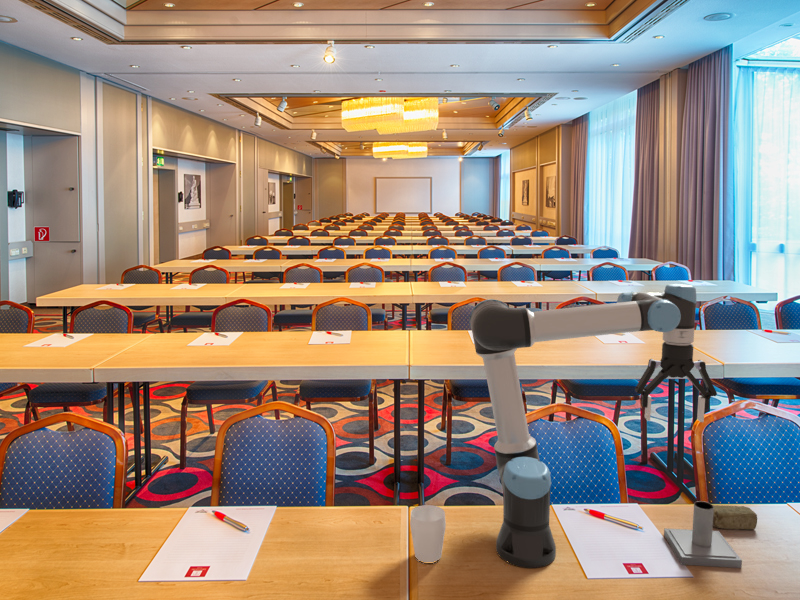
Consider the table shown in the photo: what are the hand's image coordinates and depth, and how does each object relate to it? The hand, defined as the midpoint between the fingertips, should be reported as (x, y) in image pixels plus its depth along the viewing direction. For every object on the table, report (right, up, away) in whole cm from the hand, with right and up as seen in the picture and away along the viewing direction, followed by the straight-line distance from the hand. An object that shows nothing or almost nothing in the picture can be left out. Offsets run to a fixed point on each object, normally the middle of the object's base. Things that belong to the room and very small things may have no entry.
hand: (673, 419), depth 161 cm
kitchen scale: (+4, -33, -7) cm, 33 cm away
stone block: (+19, -31, +6) cm, 37 cm away
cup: (-67, -34, -8) cm, 75 cm away
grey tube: (+4, -31, -7) cm, 32 cm away
